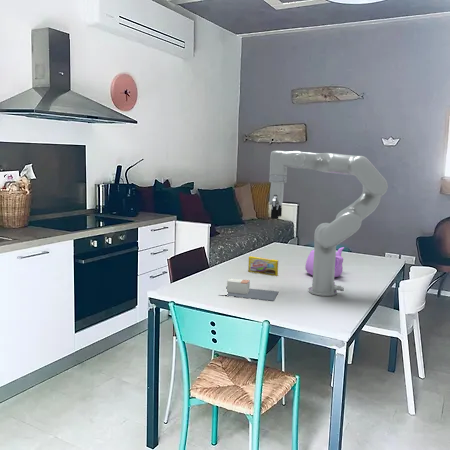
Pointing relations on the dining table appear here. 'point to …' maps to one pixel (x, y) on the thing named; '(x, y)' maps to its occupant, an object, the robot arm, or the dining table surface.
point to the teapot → (337, 263)
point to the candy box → (263, 266)
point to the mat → (257, 294)
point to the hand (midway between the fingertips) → (276, 217)
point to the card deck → (238, 286)
